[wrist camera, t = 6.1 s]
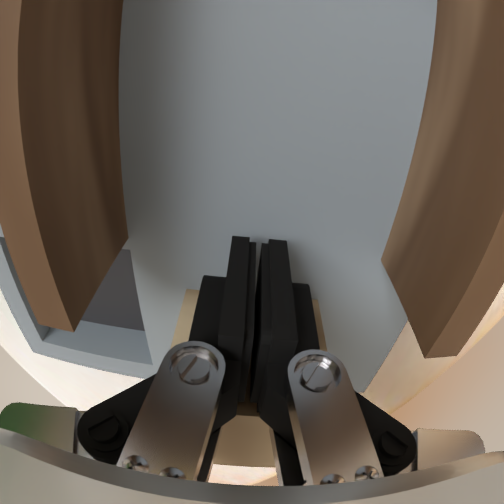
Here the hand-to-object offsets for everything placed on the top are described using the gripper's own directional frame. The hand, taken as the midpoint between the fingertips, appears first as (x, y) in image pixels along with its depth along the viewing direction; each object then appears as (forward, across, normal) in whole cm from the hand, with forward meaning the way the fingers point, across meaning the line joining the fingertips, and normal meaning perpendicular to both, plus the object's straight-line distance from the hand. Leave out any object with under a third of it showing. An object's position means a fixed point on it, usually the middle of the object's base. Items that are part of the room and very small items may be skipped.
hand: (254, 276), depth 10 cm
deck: (+3, +3, -4) cm, 6 cm away
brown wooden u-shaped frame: (+1, 0, -8) cm, 8 cm away
